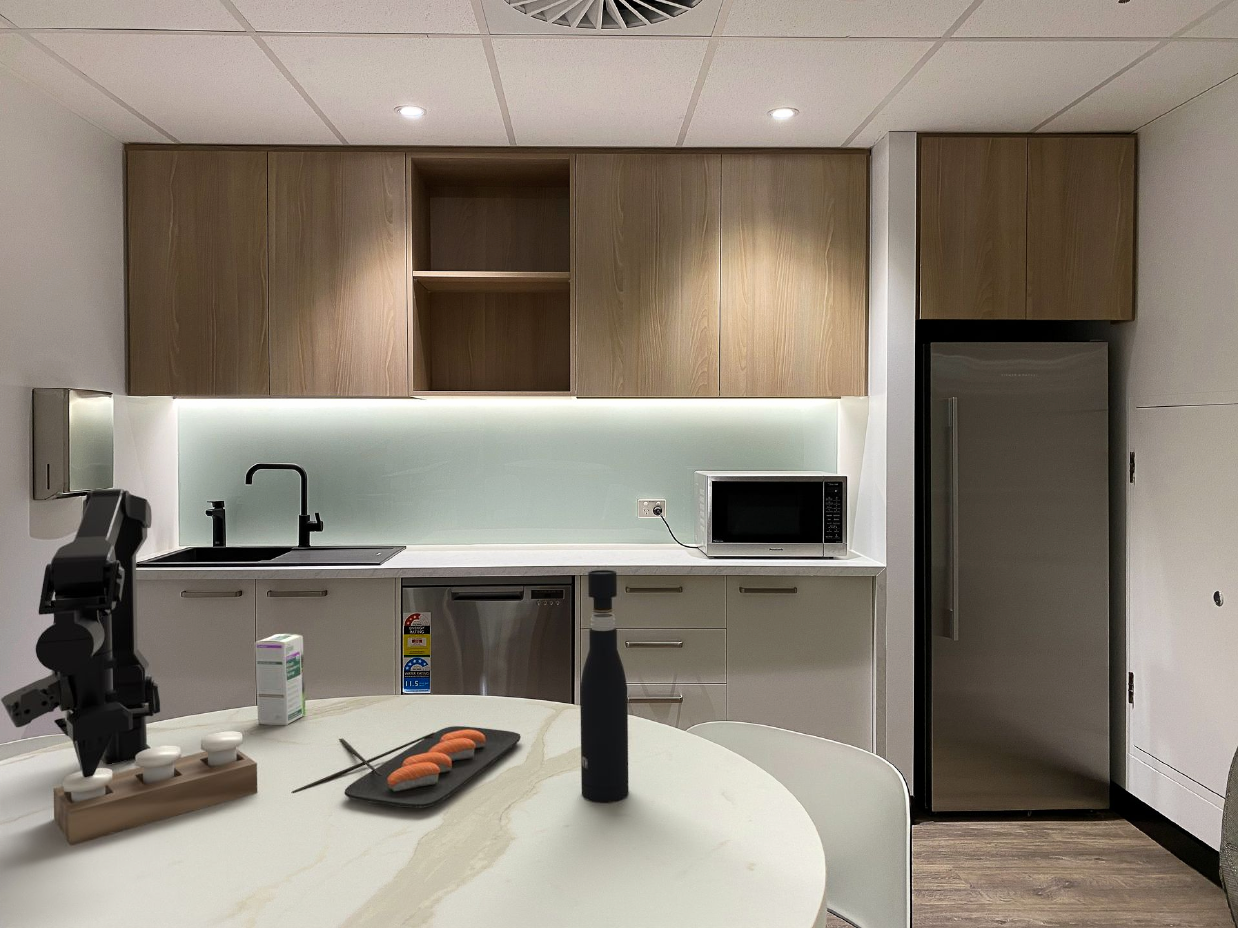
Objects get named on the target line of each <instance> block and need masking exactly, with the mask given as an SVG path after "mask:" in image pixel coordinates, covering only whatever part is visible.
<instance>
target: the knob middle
mask: <svg viewBox="0 0 1238 928" xmlns="http://www.w3.org/2000/svg"><path fill="white" fill-rule="evenodd" d="M180 757H182V756H181V747H179V746H177V745H161V746H154V747H150V749H146V750H144V751H141V752H139V753H138V754H137V755H136V759H135V766H137V768H138V767H143V784H144V785H146V784H150V783H154V782H158V781H162V780H166V779H170V778H173V777H174V762H175V761H177V760H179V759H180Z"/></svg>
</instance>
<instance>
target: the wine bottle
mask: <svg viewBox="0 0 1238 928" xmlns="http://www.w3.org/2000/svg"><path fill="white" fill-rule="evenodd" d="M617 577H618V576H617V571H616V570H611V569H610V570H609V569H600V570H599V569H597V570H591V571H588V572H587V579H588V580H587V581H588V582H587V583H588V585H587V586H588V587H587V591H588V593H587V594H588V597H589V598H593V599H592V601H593V608H592V612H593V613H594V614H591V618H590V621H591V623H590V626H591V628H589V630H588V632H589V633H588V636H589V637H588V638H589V645H588V646H589V648H588V649H589V650H588V653H587V655H586V659H585V662H584V665H583V669H582V672H581V673H582V674H581V680H580V687H579V692H580V693H579V696H580V700H579V701H580V702H579V703H580V705H579V706H580V707H579V708H580V711H579V712H580V767H581V769H580V773H581V774H580V775H581V776H580V778H581V783H580V785H581V796H582V797H583V798H584V799H586V800H588V801H590V802H593V803H602V804H606V803H607V804H608V803H613V802H614V803H615V802H618V801H621V800H624V799H625V798H627V796H628V795H629V792H630V791H629V723H628V720H629V717H628V712H629V711H628V705H629V704H628V683H627V678H626V674H625V673H626V672H625V669H624V665H623V662H622V659H621V656H620V653H619V651H618V630H617V628H616V627H615V626H616V622H615V621H616V618H615V614H613V613H611V612H613V610H614V609H613V599H612V598H616V597H617V595H618V593H617V591H618V590H617V588H618V585H617V584H618V583H617V581H618V579H617Z"/></svg>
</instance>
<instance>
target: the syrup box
mask: <svg viewBox="0 0 1238 928" xmlns="http://www.w3.org/2000/svg"><path fill="white" fill-rule="evenodd" d="M254 647H255V649H254V650H255V651H254V652H255V675H256V676H255V678H256V681H255V682H256V699H257V702H256V703H257V705H256V706H257V723H258V724H262V725H270V726H288V725H290V724H291V723H292V722H294V721H297V720H298V719H300V718H301V717H304V716H306V692H305V691H306V690H305V688H306V687H305V686H306V685H305V663H304V660H305V658H304V638H303V635H302V634H297V633H282V634H281V633H277V634H273V635H272V636H269V637H265V638H263V639H260V640H257V641H255V643H254Z"/></svg>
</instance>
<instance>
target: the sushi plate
mask: <svg viewBox="0 0 1238 928" xmlns="http://www.w3.org/2000/svg"><path fill="white" fill-rule="evenodd" d="M338 740H339V741H340V743H341V744H342V745H343V746H344V748H345V749H346V750H347V751H348V752H350V753H351V754H352V755H353V756H355V757H356V758H357V759H359V760H360V761H361V762H359V763H357V764H355V765H354V764H353V765H352V766H349V767H347V768H344V769H341V770H340V771H338V772H335V773H332V774H331V775H328V776H326V777H324V778H323V777H322V778H320V779H317V780H316V781H313V782H311V783H309V784H306V785H304V786H301V787H299V788H297V789H295V790H293V791H292V790H291V793H292V794H295V793H297V792H302V791H304V790H306V789H310V788H312V787H315V786H318V785H321V784H325V783H327V782H330V781H332V780H334V779H337V778H339V777H341V776H344V775H345V774H348V773H349V772H352V771H354V770H357V769H359V768H361V767H363V766H367V767H368V768H369V769H370V770H371V771H369V772H368V773H366V774H364V775H362V776H361V777H360V778H358V779H356V780H355V781H353V782H352V783H350V784H349V785H348V786H347V787H346V788H345V790H344V792H343V793H344V795H345V796H346V797H348V798H350V799H353V800H357V801H361V802H362V801H363V802H368V803H374V804H375V803H376V804H381V805H382V804H383V805H390V806H396V807H405V808H416V809H417V808H427V807H431V806H432V807H433V806H434V805H437V804H439V803H441V802H442V801H443V800H445V799H447V798H448V797H449V796H450V795H452V794H454V793H455V792H456V791H457V790H459V789H460V788H461V787H463V786H464V785H465V784H466V783H468V782H469V781H471V780H472V779H473V778H474V777H476V776H477V775H478V774H479V773H481V772H482V771H483V770H485V769H486V768H487V767H489V766H490V765H491V764H493V762H495V761H496V760H498V759H499V758H501V757H502V756H503V755H504V754H506V753H507V752H508V751H510V750H511V749H512V748H513V747H514V746H516V745H517V744H518V743H519V742H520V740H521V734H520V733H518V732H515V731H509V730H502V729H494V728H483V727H477V726H475V727H474V726H464V725H463V726H459V725H458V726H457V725H455V726H454V725H453V726H447V727H445V728H442V729H438V730H437V731H436V732H434V731H433V732H432V733H429V734H427V735H424V736H422V737H419V738H417V739H414V740H412V741H409V742H407V743H405V744H402V745H400V746H398V747H396V748H393V749H391V750H388V751H386V752H384V753H381V754H378V755H376V756H374V757H372V758H369V759H367V760H366V759H365V758H364V757H363V756H362V755H361V754H360V753H359V752H357V750H356V749H355V748H354V747H352V745H351V744H350V743H348V742H347V741H346V740H345V739H344V738H338ZM413 744H414V745H413ZM411 745H412V746H411ZM408 746H409V747H408ZM410 746H411V747H410ZM407 747H408V748H407ZM404 748H407V749H405V750H404V751H402V752H400V753H399V754H397V755H395V756H394V757H392V758H390V759H389V760H388V761H386V762H384V763H382V764H380V765H379V766H377V767H376V768H375V767H374V766H372V765H371V764H370V763H373V762H374V761H376V760H379V759H381V758H384V757H386V756H389V755H390V754H393V753H394V752H395V753H396V752H397V751H400V750H402V749H404Z"/></svg>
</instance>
